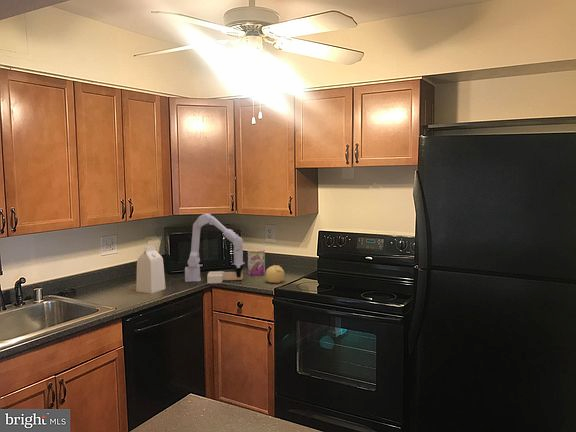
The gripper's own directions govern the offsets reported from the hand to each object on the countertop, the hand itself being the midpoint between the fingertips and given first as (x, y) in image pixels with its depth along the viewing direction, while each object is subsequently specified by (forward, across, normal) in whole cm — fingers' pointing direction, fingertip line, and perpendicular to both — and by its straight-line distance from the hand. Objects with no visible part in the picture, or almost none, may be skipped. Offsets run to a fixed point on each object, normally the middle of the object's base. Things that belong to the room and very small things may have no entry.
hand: (238, 277), depth 298 cm
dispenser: (+2, 0, +15) cm, 15 cm away
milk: (+2, -19, +51) cm, 55 cm away
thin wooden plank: (+2, 0, +4) cm, 5 cm away
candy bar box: (+2, +15, -12) cm, 19 cm away
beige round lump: (+2, -9, -23) cm, 24 cm away
